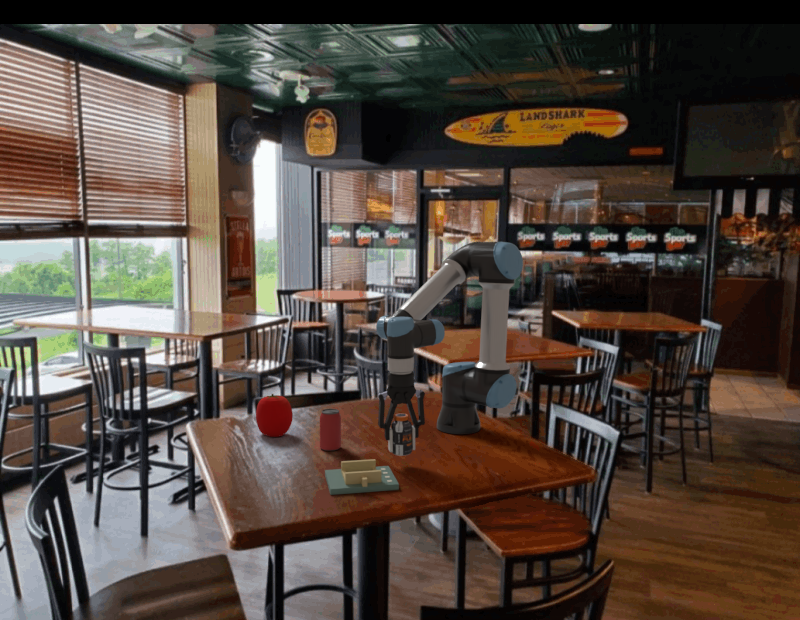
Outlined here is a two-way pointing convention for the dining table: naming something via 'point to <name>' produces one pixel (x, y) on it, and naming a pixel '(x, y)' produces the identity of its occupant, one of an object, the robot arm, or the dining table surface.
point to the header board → (360, 478)
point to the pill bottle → (402, 435)
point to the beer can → (330, 430)
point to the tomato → (274, 415)
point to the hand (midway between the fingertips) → (401, 449)
